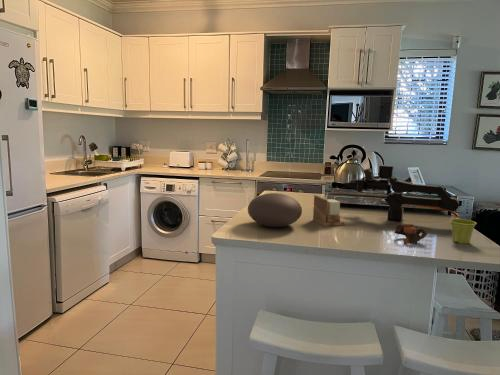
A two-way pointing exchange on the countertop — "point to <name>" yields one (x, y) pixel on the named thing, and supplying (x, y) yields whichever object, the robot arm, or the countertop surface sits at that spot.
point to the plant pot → (462, 230)
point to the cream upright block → (332, 207)
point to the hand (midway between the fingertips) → (347, 182)
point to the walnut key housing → (324, 213)
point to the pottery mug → (410, 233)
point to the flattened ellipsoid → (274, 210)
